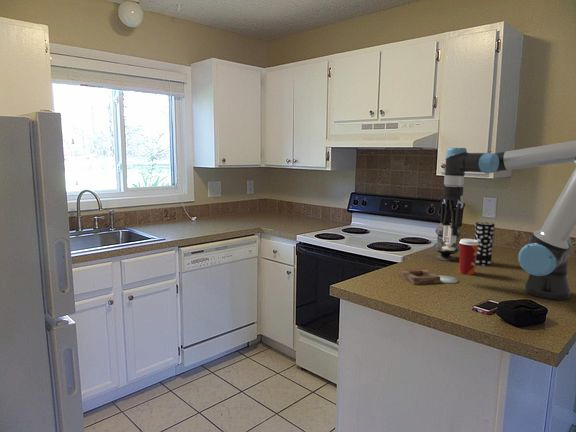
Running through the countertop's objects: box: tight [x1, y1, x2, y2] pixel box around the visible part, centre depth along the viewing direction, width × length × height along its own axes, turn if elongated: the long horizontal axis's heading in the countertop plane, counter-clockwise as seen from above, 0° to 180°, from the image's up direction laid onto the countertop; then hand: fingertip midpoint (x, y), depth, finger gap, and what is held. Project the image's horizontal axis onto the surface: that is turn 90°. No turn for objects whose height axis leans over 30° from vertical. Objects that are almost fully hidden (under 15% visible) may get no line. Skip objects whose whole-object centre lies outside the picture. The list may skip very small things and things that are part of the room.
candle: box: [442, 225, 455, 251], centre depth 173 cm, size 5×5×10 cm
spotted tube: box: [473, 221, 496, 267], centre depth 202 cm, size 8×8×20 cm
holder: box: [399, 268, 441, 285], centre depth 176 cm, size 12×12×2 cm
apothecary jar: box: [433, 222, 461, 262], centre depth 211 cm, size 12×12×18 cm
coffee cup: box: [458, 238, 479, 275], centre depth 186 cm, size 8×8×15 cm
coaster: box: [438, 275, 459, 284], centre depth 176 cm, size 9×9×1 cm
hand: (449, 241), depth 173 cm, fingers closed on candle, 4 cm apart
